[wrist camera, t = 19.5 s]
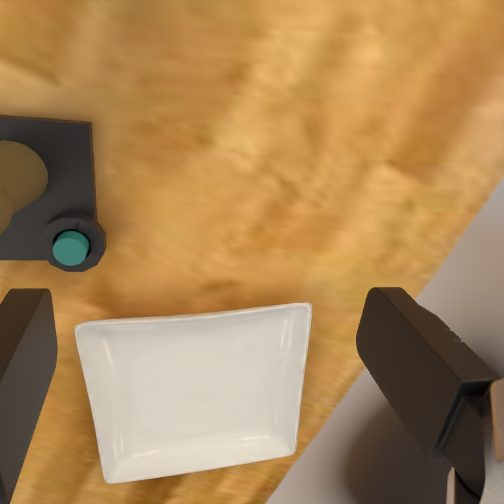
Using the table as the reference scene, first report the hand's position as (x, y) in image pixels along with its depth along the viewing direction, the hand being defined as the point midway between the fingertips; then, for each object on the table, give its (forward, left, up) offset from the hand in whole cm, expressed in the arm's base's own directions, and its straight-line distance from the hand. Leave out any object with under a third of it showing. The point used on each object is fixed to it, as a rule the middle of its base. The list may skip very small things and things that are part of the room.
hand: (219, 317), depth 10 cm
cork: (+6, -15, -32) cm, 36 cm away
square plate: (+34, +4, -33) cm, 48 cm away
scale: (+8, -14, -33) cm, 37 cm away
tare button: (+12, -10, -30) cm, 34 cm away
